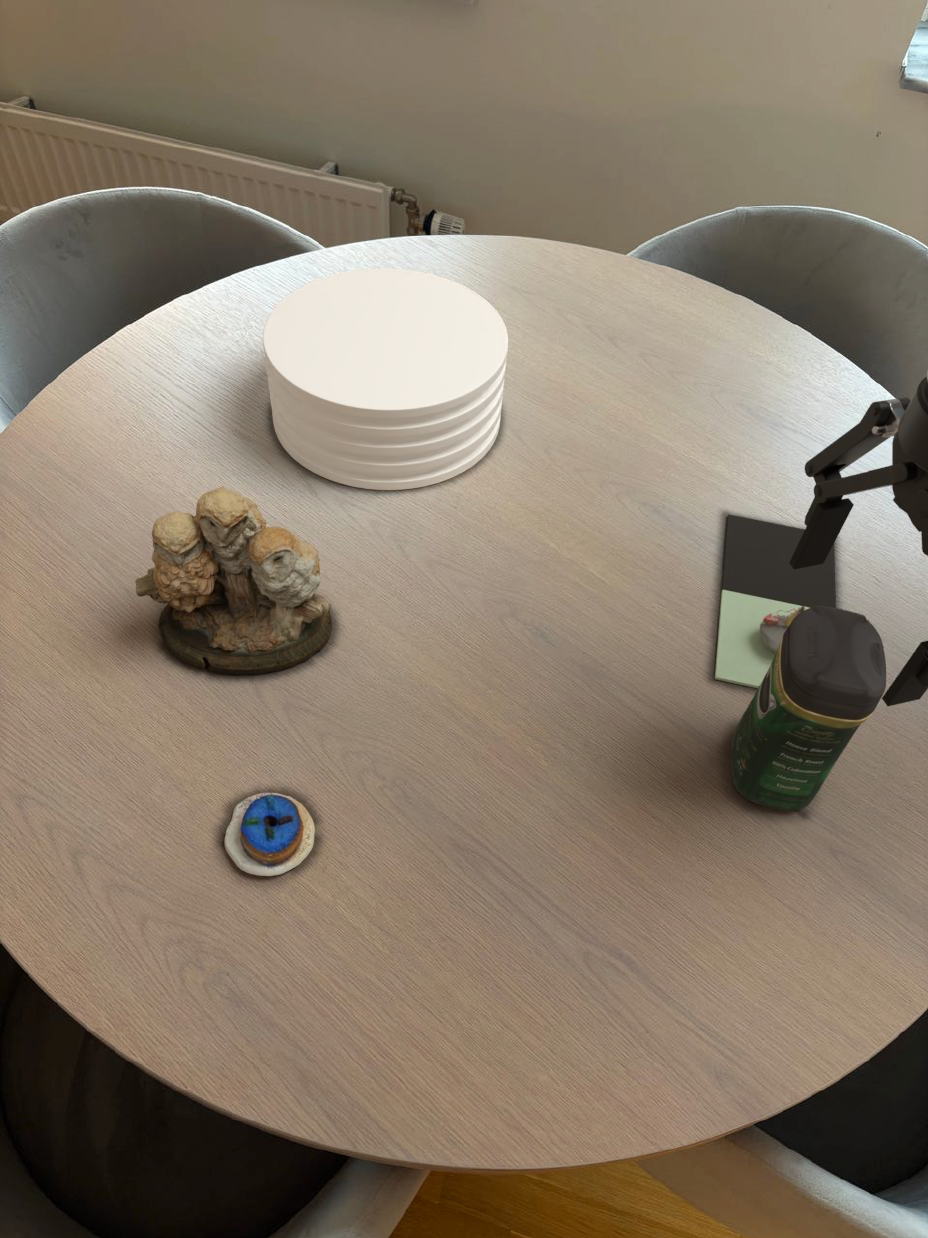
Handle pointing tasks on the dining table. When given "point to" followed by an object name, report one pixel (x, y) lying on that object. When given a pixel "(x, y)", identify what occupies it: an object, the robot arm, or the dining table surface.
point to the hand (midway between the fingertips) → (850, 627)
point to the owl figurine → (235, 588)
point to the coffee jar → (808, 707)
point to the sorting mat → (762, 593)
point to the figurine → (776, 627)
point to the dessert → (269, 834)
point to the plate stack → (385, 377)
